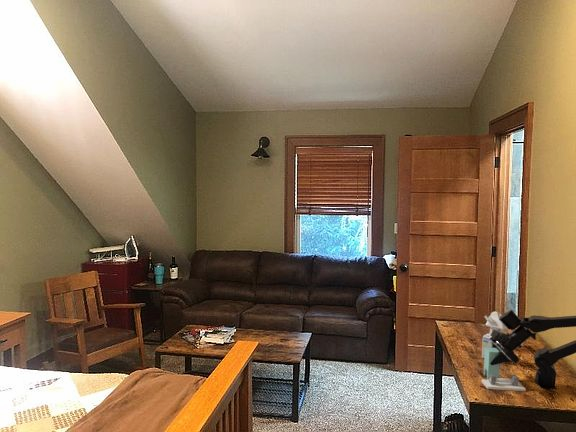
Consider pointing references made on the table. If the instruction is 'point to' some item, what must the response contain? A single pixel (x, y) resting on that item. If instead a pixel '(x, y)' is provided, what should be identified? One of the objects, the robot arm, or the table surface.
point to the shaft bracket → (503, 383)
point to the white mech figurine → (495, 322)
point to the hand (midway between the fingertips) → (488, 361)
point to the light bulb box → (486, 343)
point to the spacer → (489, 356)
